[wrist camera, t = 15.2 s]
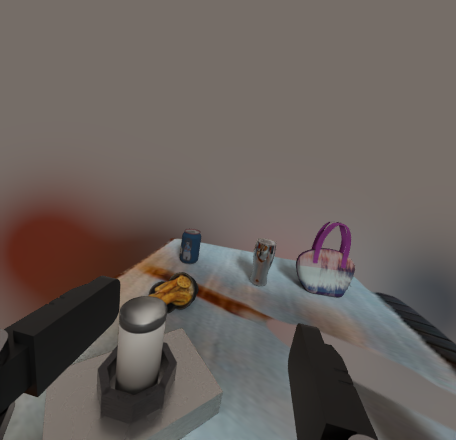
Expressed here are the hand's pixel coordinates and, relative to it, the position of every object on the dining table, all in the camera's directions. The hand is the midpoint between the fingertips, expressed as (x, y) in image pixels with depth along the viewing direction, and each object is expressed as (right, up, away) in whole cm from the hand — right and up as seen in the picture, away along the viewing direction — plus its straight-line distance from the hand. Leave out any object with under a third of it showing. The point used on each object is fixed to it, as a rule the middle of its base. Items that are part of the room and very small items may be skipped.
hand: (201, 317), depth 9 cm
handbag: (+35, -21, +67) cm, 78 cm away
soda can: (-14, -12, +71) cm, 73 cm away
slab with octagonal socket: (-12, -23, +21) cm, 33 cm away
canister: (-12, -19, +20) cm, 30 cm away
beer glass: (+12, -18, +64) cm, 67 cm away
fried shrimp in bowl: (-15, -18, +43) cm, 48 cm away
